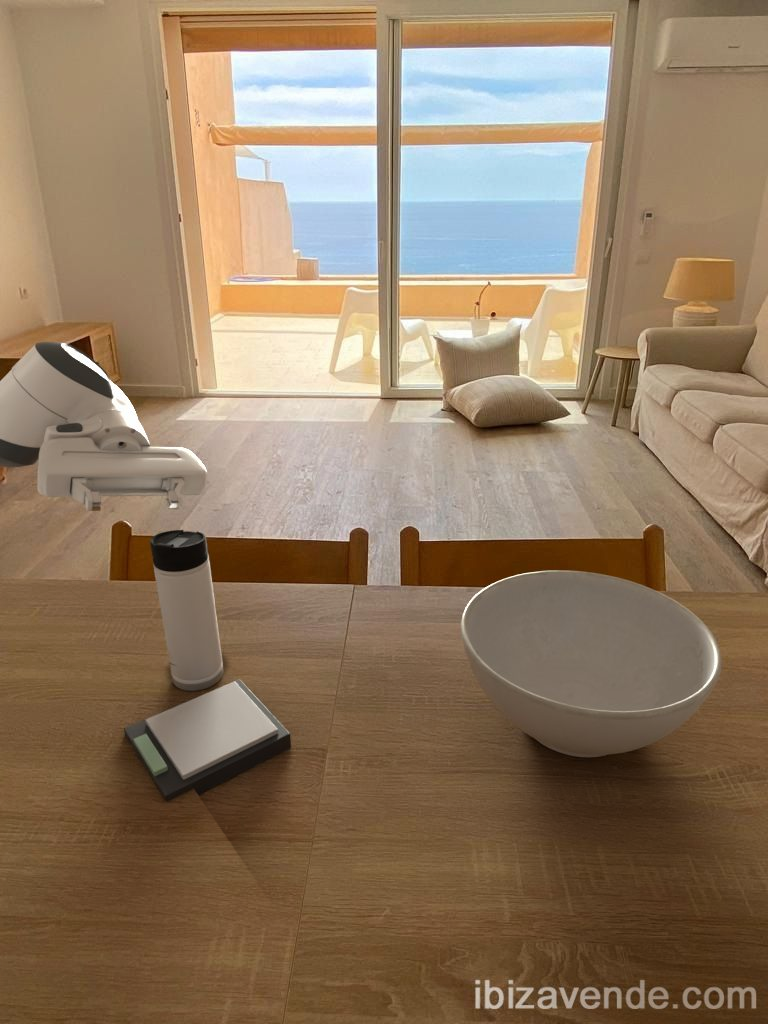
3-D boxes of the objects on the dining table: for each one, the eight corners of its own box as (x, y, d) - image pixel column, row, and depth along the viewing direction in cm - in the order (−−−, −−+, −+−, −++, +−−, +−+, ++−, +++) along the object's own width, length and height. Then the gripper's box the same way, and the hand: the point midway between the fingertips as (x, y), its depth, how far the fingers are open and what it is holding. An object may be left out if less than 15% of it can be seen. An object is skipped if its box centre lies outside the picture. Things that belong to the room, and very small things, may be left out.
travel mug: (161, 689, 85) (136, 544, 77) (187, 658, 91) (166, 519, 83) (208, 697, 84) (187, 550, 75) (232, 664, 89) (214, 524, 81)
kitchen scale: (167, 811, 68) (164, 791, 67) (126, 742, 77) (122, 723, 76) (291, 747, 76) (290, 729, 75) (241, 691, 84) (239, 674, 83)
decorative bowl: (508, 628, 96) (513, 551, 91) (717, 691, 84) (737, 605, 79) (415, 749, 75) (417, 657, 70) (676, 856, 63) (699, 754, 58)
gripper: (189, 470, 100) (216, 524, 90) (30, 469, 89) (42, 530, 79) (195, 431, 97) (224, 482, 87) (32, 425, 86) (44, 482, 76)
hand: (136, 505), depth 83 cm, fingers open, 8 cm apart
